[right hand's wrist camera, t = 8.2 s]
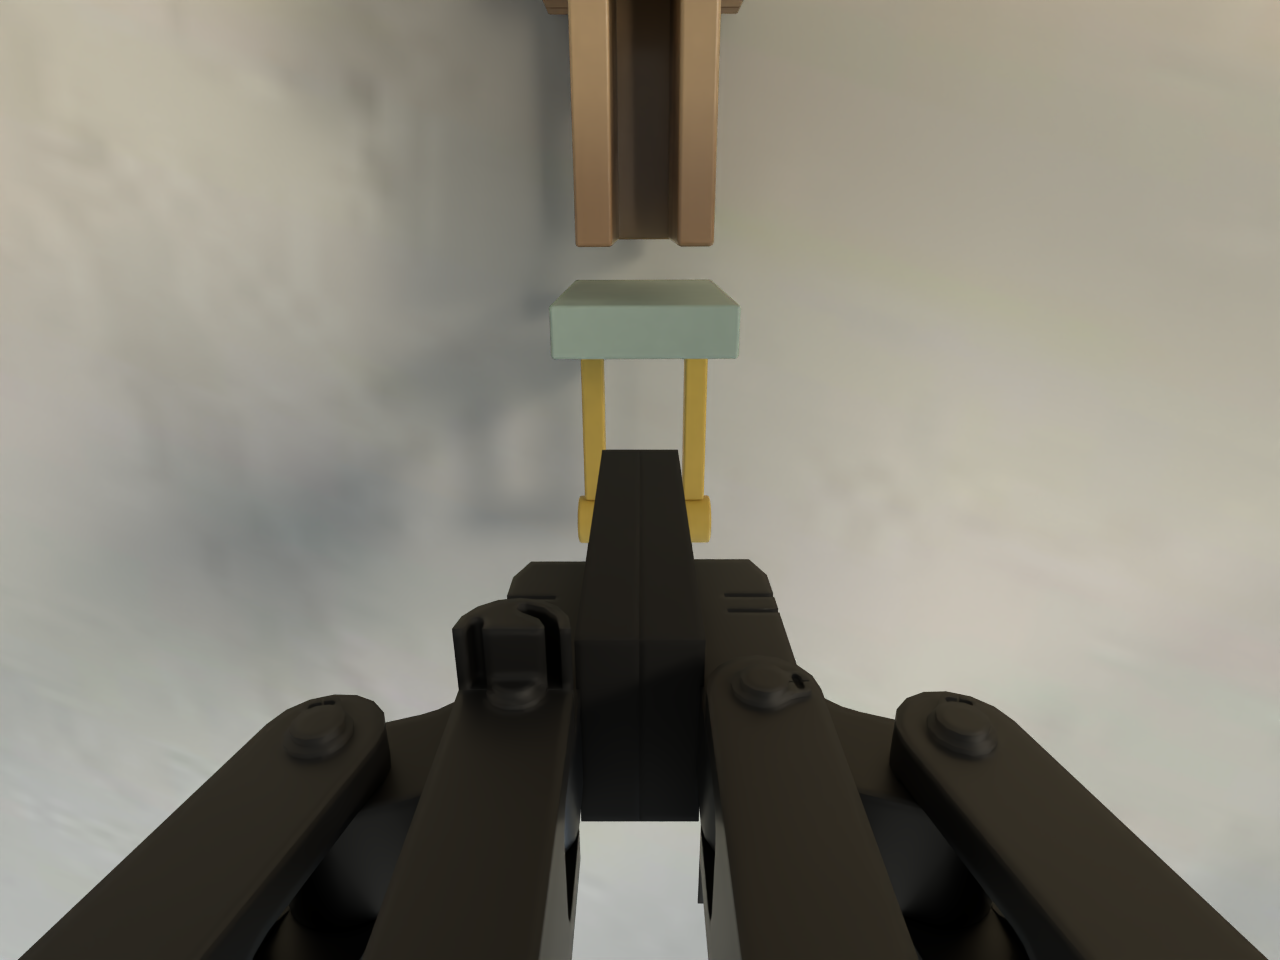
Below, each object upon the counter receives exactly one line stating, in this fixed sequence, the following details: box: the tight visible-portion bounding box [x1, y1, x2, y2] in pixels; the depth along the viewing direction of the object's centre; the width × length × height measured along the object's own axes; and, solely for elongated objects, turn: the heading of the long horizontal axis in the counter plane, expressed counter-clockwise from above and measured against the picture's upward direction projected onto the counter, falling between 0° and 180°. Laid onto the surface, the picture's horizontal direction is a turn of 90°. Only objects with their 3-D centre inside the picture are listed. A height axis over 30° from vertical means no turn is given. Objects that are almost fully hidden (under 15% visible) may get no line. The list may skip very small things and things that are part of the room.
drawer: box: [549, 0, 741, 543], centre depth 17 cm, size 25×4×7 cm, turn 0°
